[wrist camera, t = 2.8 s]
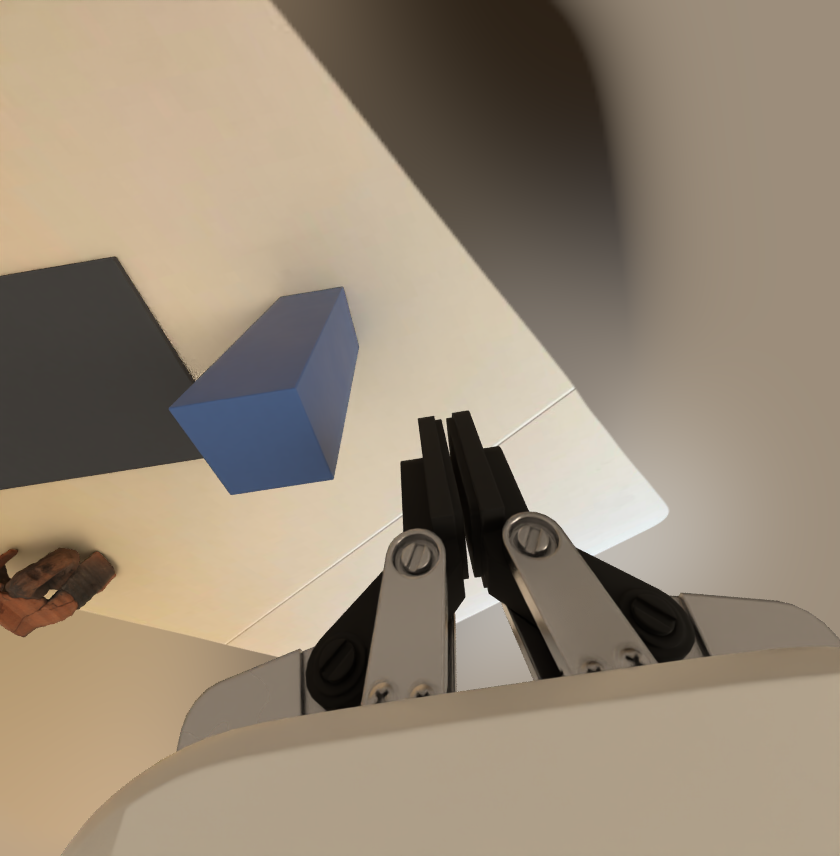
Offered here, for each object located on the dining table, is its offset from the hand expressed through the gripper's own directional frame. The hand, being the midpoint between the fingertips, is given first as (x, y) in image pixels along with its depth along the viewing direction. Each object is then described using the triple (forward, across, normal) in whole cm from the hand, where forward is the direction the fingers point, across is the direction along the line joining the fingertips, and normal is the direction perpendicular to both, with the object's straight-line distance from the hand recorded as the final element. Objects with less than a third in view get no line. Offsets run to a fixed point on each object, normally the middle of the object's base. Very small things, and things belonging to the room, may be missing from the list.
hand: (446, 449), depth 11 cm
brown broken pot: (+16, +43, +21) cm, 50 cm away
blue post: (+15, +7, 0) cm, 17 cm away
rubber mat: (+16, +33, +2) cm, 36 cm away
